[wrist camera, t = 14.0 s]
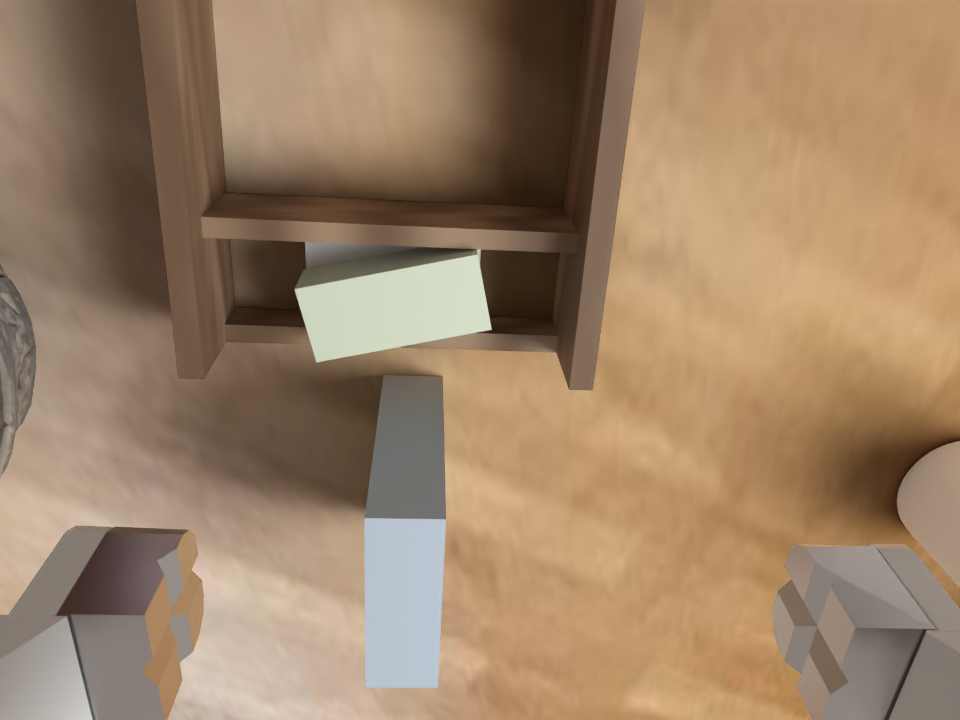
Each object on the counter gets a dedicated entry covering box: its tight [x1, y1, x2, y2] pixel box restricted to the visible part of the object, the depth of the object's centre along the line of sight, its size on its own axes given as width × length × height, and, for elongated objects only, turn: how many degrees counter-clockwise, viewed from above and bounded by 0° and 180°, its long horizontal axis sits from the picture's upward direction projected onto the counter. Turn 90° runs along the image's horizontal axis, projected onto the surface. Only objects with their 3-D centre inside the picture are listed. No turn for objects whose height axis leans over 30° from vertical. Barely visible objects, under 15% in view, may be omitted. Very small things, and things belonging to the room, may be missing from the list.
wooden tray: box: [136, 0, 646, 390], centre depth 37 cm, size 20×22×7 cm
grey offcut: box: [305, 242, 481, 269], centre depth 42 cm, size 9×4×3 cm, turn 87°
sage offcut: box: [295, 247, 492, 362], centre depth 40 cm, size 9×4×3 cm, turn 100°
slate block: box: [365, 375, 446, 688], centre depth 42 cm, size 4×10×14 cm, turn 177°
